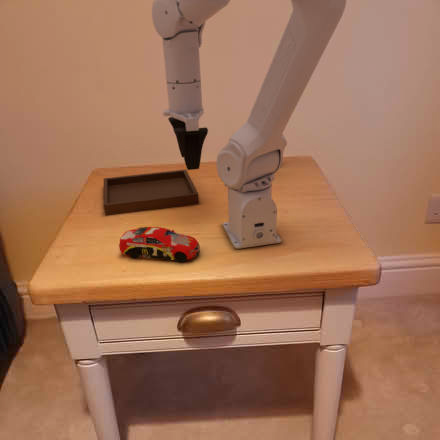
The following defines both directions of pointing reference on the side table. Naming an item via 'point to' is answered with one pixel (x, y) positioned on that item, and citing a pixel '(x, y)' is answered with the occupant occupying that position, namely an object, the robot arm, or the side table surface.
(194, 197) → the tray
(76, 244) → the side table surface
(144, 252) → the race car
